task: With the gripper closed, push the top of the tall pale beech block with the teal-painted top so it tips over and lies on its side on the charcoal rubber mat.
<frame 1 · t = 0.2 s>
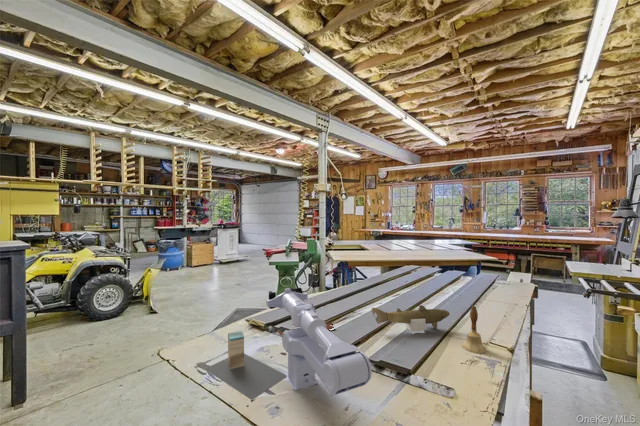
hand: (279, 292, 107), 22 cm above the workbench, tool horizontal, fingers open, 7 cm apart
rubber mat: (245, 374, 92), on the workbench
wooden tablet: (304, 329, 126), on the workbench
wood carving: (410, 331, 123), on the workbench
hand bell: (473, 348, 109), on the workbench
beech block: (236, 364, 96), point 1 cm above the workbench, touching rubber mat
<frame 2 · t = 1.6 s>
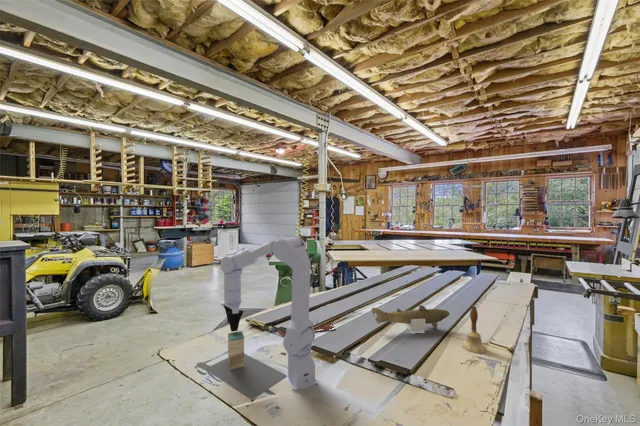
hand: (232, 326, 103), 10 cm above the workbench, tool pointing down, fingers open, 7 cm apart
nothing on the workbench moved.
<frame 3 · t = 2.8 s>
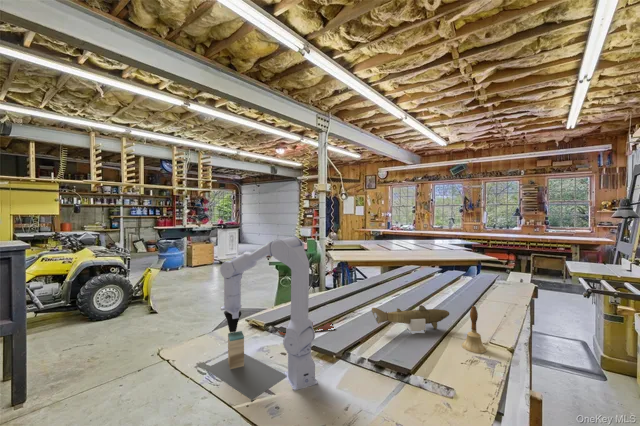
hand: (232, 331, 103), 9 cm above the workbench, tool pointing down, fingers closed
nothing on the workbench moved.
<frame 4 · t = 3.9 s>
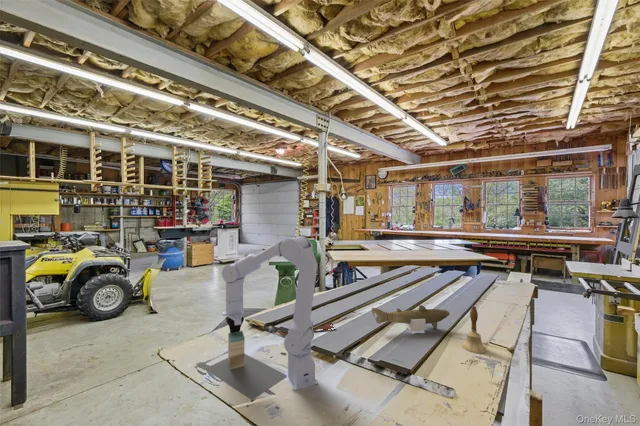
hand: (234, 337, 98), 8 cm above the workbench, tool pointing down, fingers closed
beech block: (236, 363, 96), point 1 cm above the workbench, tilted 5°, touching rubber mat
everything else where it was.
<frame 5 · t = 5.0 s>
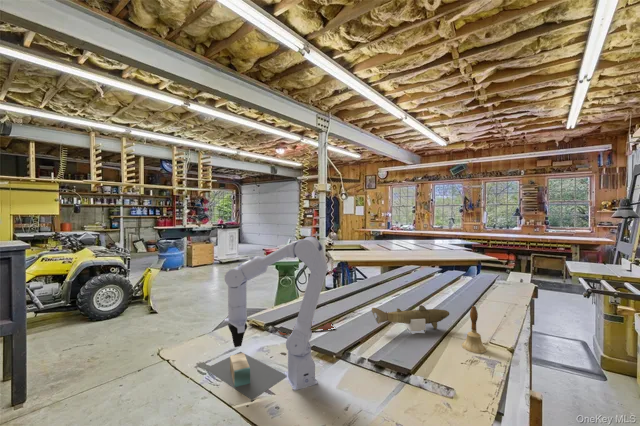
hand: (237, 345, 93), 8 cm above the workbench, tool pointing down, fingers closed
beech block: (237, 361, 94), point 3 cm above the workbench, tilted 90°, touching rubber mat
everything else where it was.
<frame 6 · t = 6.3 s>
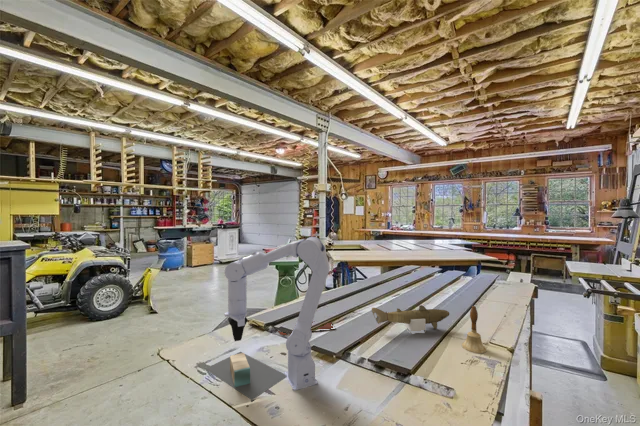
hand: (237, 339, 93), 10 cm above the workbench, tool pointing down, fingers closed
nothing on the workbench moved.
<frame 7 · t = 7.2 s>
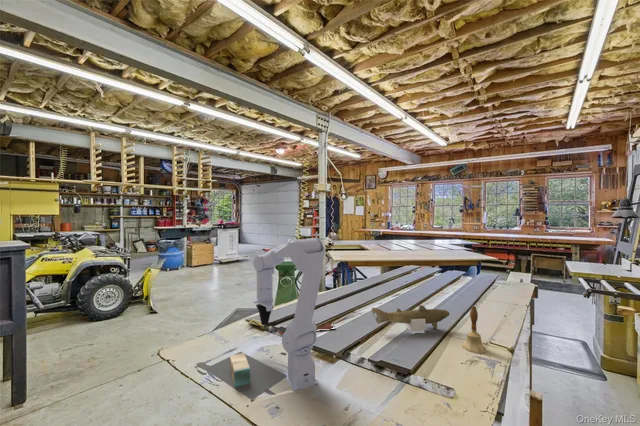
hand: (264, 324, 105), 10 cm above the workbench, tool pointing down, fingers closed
nothing on the workbench moved.
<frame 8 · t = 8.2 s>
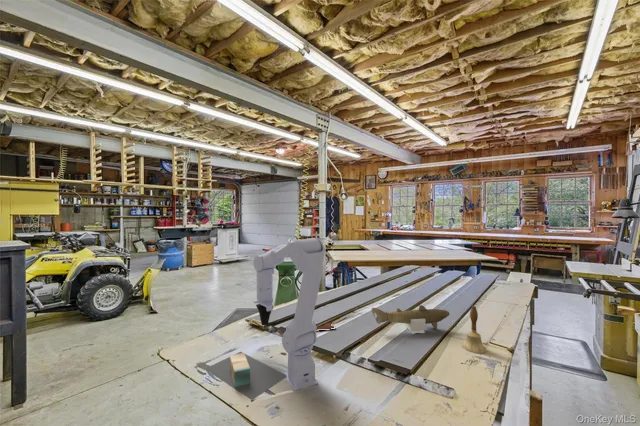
hand: (264, 324, 105), 10 cm above the workbench, tool pointing down, fingers closed
nothing on the workbench moved.
at the end: beech block tilted 90°; beech block inside the target area (0.7 cm from its centre), point 2.8 cm above the workbench; beech block touching rubber mat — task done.
